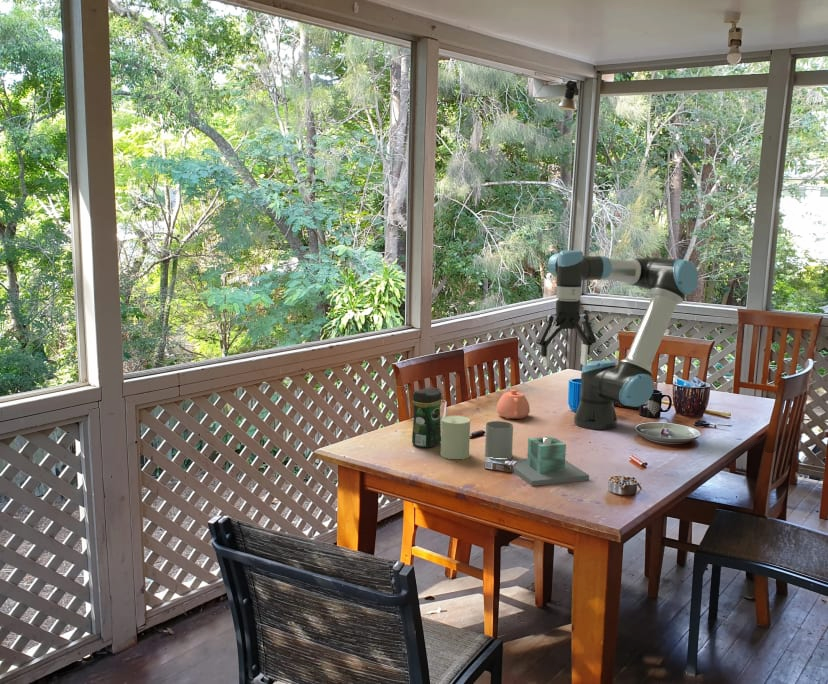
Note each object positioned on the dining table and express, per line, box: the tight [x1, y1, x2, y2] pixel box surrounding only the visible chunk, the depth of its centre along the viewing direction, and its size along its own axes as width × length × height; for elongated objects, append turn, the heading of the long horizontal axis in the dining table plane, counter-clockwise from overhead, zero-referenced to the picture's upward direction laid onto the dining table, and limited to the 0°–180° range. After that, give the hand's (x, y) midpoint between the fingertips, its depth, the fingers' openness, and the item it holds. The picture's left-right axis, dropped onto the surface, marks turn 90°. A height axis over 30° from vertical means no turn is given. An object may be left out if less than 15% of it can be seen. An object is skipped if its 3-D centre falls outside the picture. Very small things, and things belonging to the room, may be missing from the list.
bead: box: [526, 435, 567, 473], centre depth 223 cm, size 8×8×8 cm
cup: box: [484, 420, 514, 460], centre depth 238 cm, size 8×8×10 cm
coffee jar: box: [411, 386, 442, 448], centre depth 248 cm, size 10×8×19 cm
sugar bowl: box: [495, 389, 531, 420], centre depth 283 cm, size 12×14×10 cm
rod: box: [542, 436, 552, 444], centre depth 223 cm, size 2×2×9 cm
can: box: [439, 415, 471, 460], centre depth 238 cm, size 9×9×12 cm
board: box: [513, 458, 590, 487], centre depth 224 cm, size 18×18×2 cm
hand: (564, 365), depth 246 cm, fingers open, 13 cm apart
